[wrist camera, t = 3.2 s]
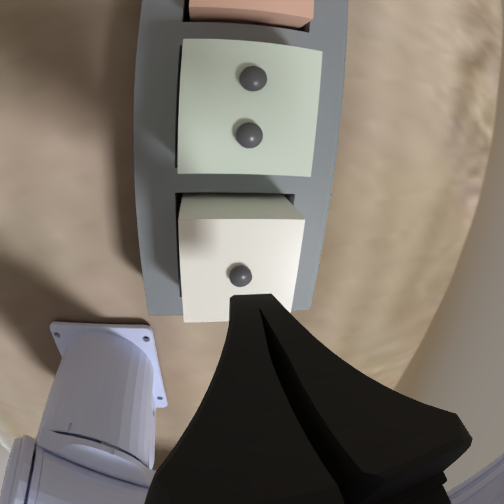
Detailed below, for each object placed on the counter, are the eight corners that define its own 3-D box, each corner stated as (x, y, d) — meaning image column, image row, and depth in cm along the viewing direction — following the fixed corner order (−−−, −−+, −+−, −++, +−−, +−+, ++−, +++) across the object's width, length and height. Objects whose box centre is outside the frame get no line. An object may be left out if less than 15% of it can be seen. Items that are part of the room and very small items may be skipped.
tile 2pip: (283, 158, 14) (312, 178, 11) (183, 155, 14) (176, 174, 10) (291, 63, 12) (324, 50, 9) (187, 56, 11) (182, 37, 8)
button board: (295, 281, 20) (309, 309, 17) (154, 285, 18) (148, 315, 16) (325, -44, 10) (347, -63, 8) (165, -59, 9) (159, -84, 6)
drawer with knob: (271, 273, 17) (290, 320, 14) (185, 275, 17) (183, 325, 13) (280, 191, 15) (306, 221, 12) (183, 189, 14) (177, 221, 11)
